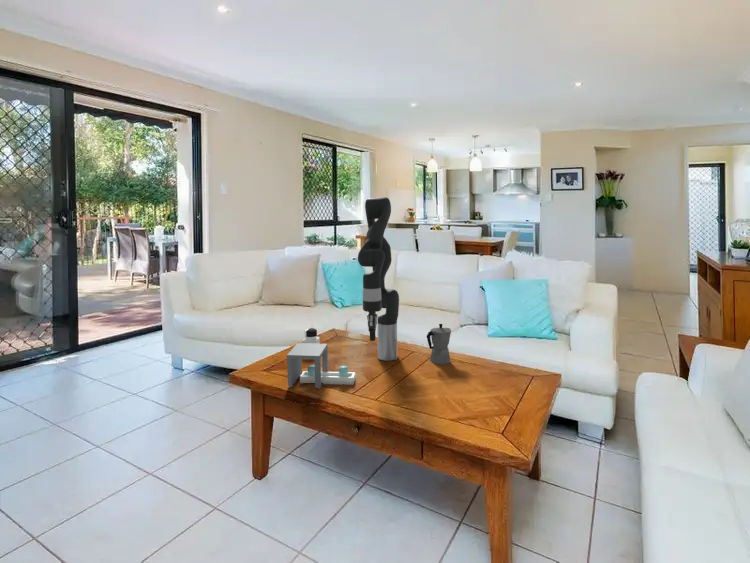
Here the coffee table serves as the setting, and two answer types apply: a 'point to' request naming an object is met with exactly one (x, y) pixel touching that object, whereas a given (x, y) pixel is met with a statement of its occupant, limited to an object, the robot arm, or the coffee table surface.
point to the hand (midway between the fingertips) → (372, 340)
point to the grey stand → (307, 352)
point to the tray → (329, 376)
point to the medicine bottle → (311, 336)
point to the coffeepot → (439, 345)
